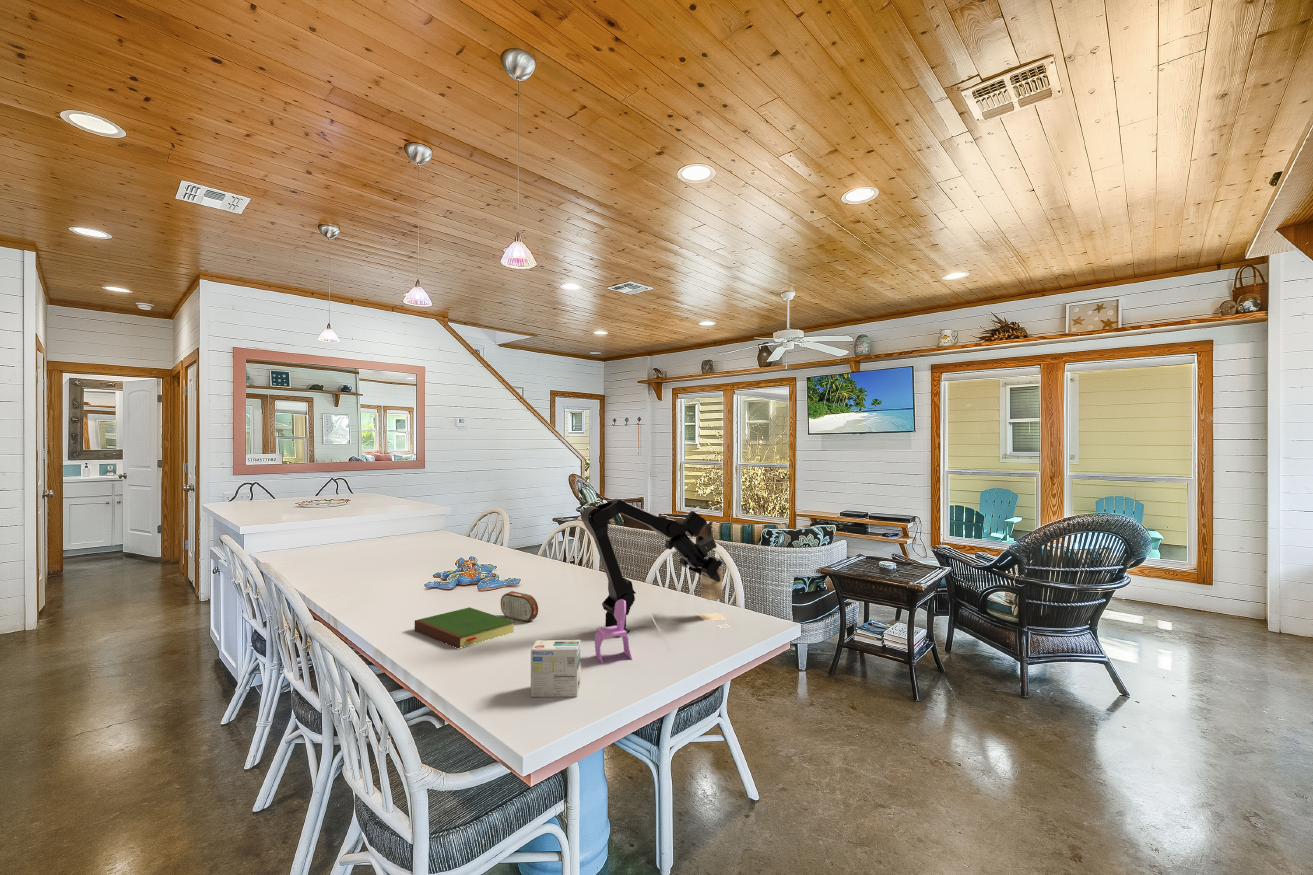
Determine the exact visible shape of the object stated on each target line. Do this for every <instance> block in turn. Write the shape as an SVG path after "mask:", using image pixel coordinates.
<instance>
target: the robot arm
mask: <svg viewBox="0 0 1313 875" xmlns="http://www.w3.org/2000/svg"><path fill="white" fill-rule="evenodd" d="M619 514H621V515H623V516H625V517H628V518H630V519H632V520H635V521H636V522H637V521H638V522H640V523H641V524H644V525H646V526H648V527H649V528H650V529H651V530H652V531H653V532H655V533H656V534H658V535H660V536H663V537H666V538H669V539H666V540H665V543H664V548H665V549H667V550H672V549H675V550H676V552H677V553H678V554H679V555H678V556H679V557H680V558H679V565H680V566H681V567H683V568H684V569H687V568H688V569H687V570H688V571H691V572H694V573H696V574H698V575H700V576H701V572H702V573H703V574H702V575H704V576H706V577H708V578H711V579H713V580H715V581H717V582H720V580H721V579H720V577H719V574H718V572H717V570H718V569H719V567H721V566H722V565H723V561H722V560H721V559H720V558H719V557H716V556H709V557H708V555H709V552H710V551H713V550H714V549H716V548H718V545H717V543H716V541H715V538H714V537H711V536H704V537H703V536H702V535H700V533H702V530H703V531H704V528H706V526H707V525H708V521H707V520H706V519H705V517H702V516H701V515H700V514H698V513H696V512H695V511H693V510H690V511H689V512H688V515H686V517H685V518H684V519H683V520H682V522H680V521H677V520H675V519H672V518H667V517H664V516H659V515H655V514H653V513H650V512H649V511H647V510H644V509H642V508H640V507H637V506H635V505H633V504H632V503H628V502H626V501H625V500H624V499H619V498H614V499H612V500H609V501H607V502H604V503H602V504H598V505H595V506H587V507H586V508H584V509H583V510H582V512H581V514H580V517H581V522H582V523H583V525H584V527H585V528H586V530H587V531H588V533H589V534H590V535H591V537H592V539H593V541H594V544H595V548H596V549H597V551H598V556H599V558H600V561H601V564H602V566H603V569H604V572H605V574H606V578H607V582H608V583H607V590H608V596H607V597H606V598H604V601H603V602H602V603H601V605H602V609H603V610H604V611H606V612H605V626H604V627H611V626H617V620H616V619H615V617H614V610H615V603H616V602H617V601H618V600H620V599H622V600H625V601H626V615H625V622H624V630H625V631H626V632H627V634H628V633H630V632H631V630H630V629H629V628H628V629H627V616H629V613H630V610H631V608H632V606H633V605H634V603H635V601H636V597H635V595H636V594H637V593H636V591H635V590H634V586H633V583H632V581H631V579H630V580H629V579H628V578H626V577H625V576H624V577H623V574H622V571H621V568H620V565H619V563H618V559H617V557H616V555H615V554H616V553H615V552H614V548H613V546H612V543H611V540H610V537H609V532H608V531H609V530H608V529H609V523H608V521H610V520H612V519H614V518H615V517H616V516H618V515H619ZM694 537H695V542H694V541H693V540H692V538H694ZM707 557H708V558H707ZM615 637H616V638H620V637H621V636H615ZM615 637H614V638H615Z"/></svg>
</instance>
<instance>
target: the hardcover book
mask: <svg viewBox="0 0 1313 875" xmlns="http://www.w3.org/2000/svg"><path fill="white" fill-rule="evenodd" d="M515 623H516V621H513V620H512V619H507V618H505V617H501V616H498V615H495V614H491V613H488V612H485V611H482V610H479V609H476V608H473V607H466V608H465V607H464V608H461V609H456V610H453V611H449V612H443V613H440V614H436V615H432V616H428V617H424V618H419V619H415V620H414V632H416V633H418V634H420V635H423V636H425V637H428V638H430V639H433V640H435V641H437V640H438V641H437V642H440V641H441V642H440V643H442V642H443V643H442V644H445V643H447V644H448V645H447V644H446V645H447V646H449V645H451V646H450V647H452V646H454V647H456V648H455V649H457V648H460V647H463V648H465V647H464V646H467V647H469V646H468V645H470V646H472V645H471V644H473V645H475V644H474V643H477V644H480V643H483V642H486V641H485V640H487V641H489V640H488V639H490V640H493V638H494V639H496V638H495V637H497V638H499V637H498V636H500V637H503V635H504V636H507V635H510V634H509V633H511V634H513V633H512V632H514V630H515V629H514V626H515ZM514 633H515V632H514ZM506 634H507V635H506ZM482 641H483V642H482ZM479 642H480V643H479ZM454 647H453V648H454ZM460 649H461V648H460Z"/></svg>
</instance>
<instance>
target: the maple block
mask: <svg viewBox="0 0 1313 875" xmlns="http://www.w3.org/2000/svg"><path fill="white" fill-rule="evenodd" d="M717 572H718V574H719V577H720V579H721V580H720V582H717V581H715V580H713V579H711V578H708V577H706V576H704V575H702V574H703V573H702V572H701V575H700V576H701V579H700V581H701V582H700V584H701V586H700V587H701V588H700V592H701V593H700V597H701V598H703V599H705V600H708V601H714V600H715V601H716V600H721V599H723V567H721V566H720V567H719V569H718V570H717Z"/></svg>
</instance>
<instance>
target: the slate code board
mask: <svg viewBox="0 0 1313 875" xmlns="http://www.w3.org/2000/svg"><path fill="white" fill-rule="evenodd" d="M696 615H697V616H698V617H699V618H700V619H702V620H703V621H704V622H710V621H711V622H712V621H723V620H727V618H726V617H725V616H723V615H722V614H720V613H719V612H712V613H700V614H698V613H697V614H696ZM726 626H728V628H731V626H729V625H728V623H724V624H718V625H716V627H718V628H719V629H723V628H726Z"/></svg>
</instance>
